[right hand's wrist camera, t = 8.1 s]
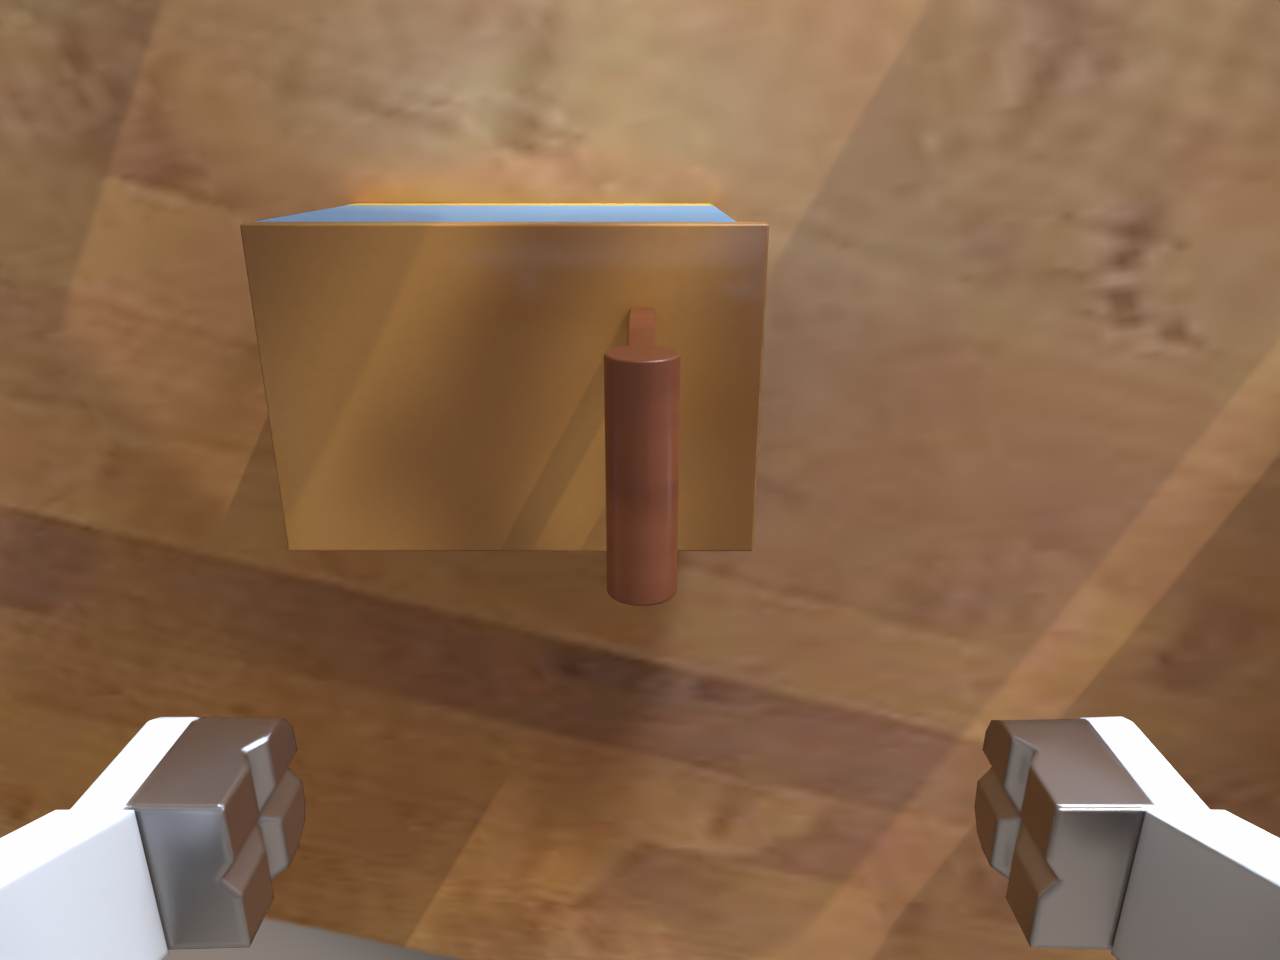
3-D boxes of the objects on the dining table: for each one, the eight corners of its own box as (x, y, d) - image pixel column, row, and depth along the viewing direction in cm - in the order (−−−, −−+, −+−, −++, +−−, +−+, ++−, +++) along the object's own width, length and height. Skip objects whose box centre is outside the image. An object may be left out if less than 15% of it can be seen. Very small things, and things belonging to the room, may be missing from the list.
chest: (712, 203, 34) (738, 221, 25) (705, 447, 38) (726, 540, 29) (354, 203, 34) (251, 221, 25) (380, 447, 38) (297, 540, 29)
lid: (765, 221, 25) (822, 252, 17) (750, 541, 28) (792, 688, 21) (251, 221, 25) (73, 252, 17) (297, 540, 28) (166, 688, 21)
